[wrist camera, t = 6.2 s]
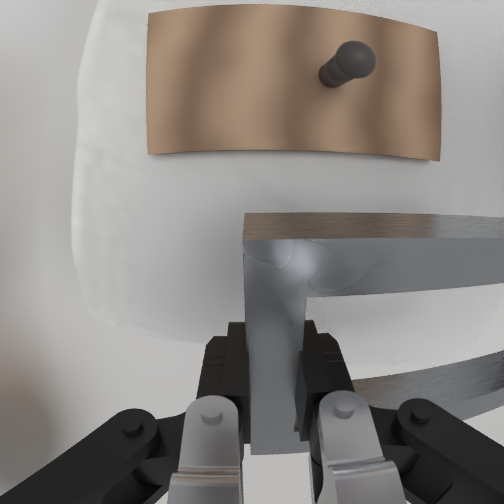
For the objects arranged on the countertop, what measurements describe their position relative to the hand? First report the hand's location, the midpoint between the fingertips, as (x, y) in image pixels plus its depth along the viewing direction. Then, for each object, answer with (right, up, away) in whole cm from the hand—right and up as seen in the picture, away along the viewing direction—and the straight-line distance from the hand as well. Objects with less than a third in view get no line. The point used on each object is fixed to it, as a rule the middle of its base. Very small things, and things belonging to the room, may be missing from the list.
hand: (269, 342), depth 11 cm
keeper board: (+3, +17, +12) cm, 21 cm away
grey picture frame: (+7, 0, +1) cm, 7 cm away
